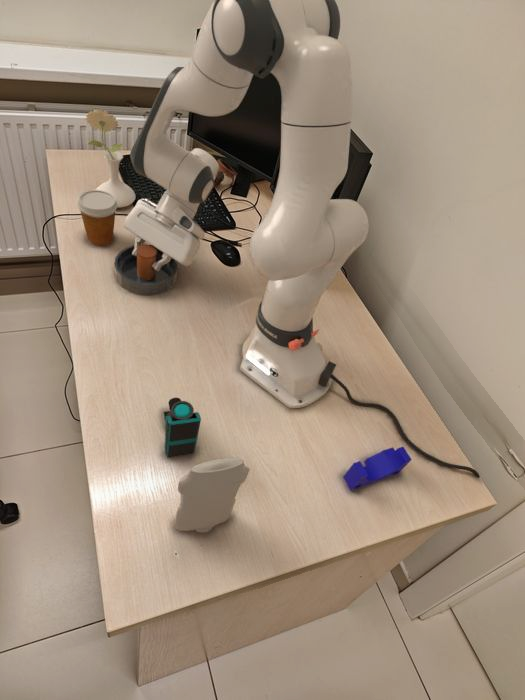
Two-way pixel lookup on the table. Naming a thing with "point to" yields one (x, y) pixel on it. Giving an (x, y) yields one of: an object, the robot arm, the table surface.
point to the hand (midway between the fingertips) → (144, 262)
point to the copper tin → (146, 262)
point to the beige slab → (209, 493)
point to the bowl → (131, 282)
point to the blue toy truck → (377, 467)
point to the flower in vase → (111, 159)
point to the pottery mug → (224, 169)
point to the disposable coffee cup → (98, 215)
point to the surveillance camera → (181, 428)
